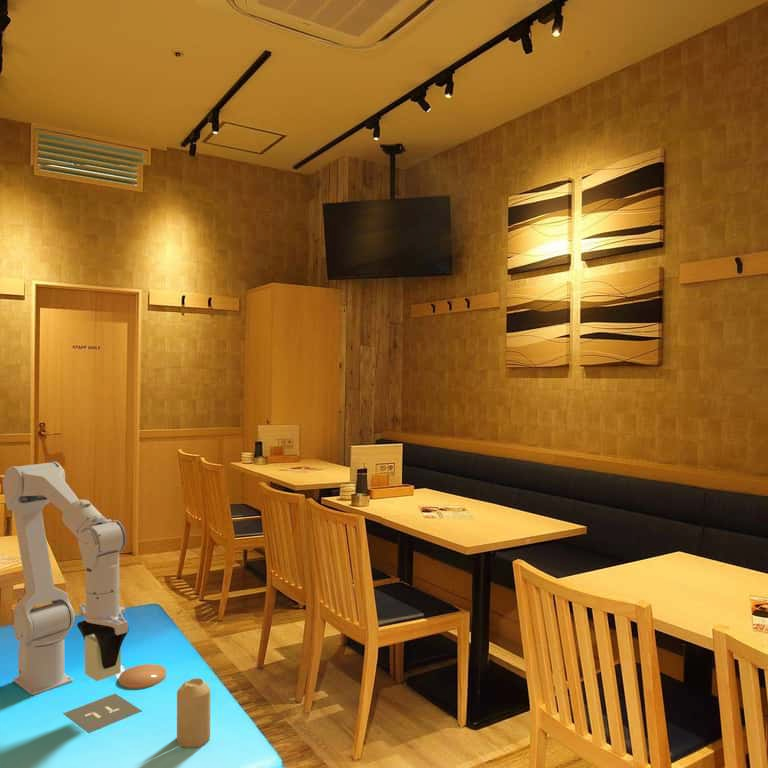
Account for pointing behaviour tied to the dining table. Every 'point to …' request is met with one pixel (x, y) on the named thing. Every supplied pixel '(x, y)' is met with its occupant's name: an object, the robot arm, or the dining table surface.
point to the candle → (193, 714)
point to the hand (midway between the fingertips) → (102, 662)
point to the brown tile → (102, 712)
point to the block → (98, 660)
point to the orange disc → (142, 676)
